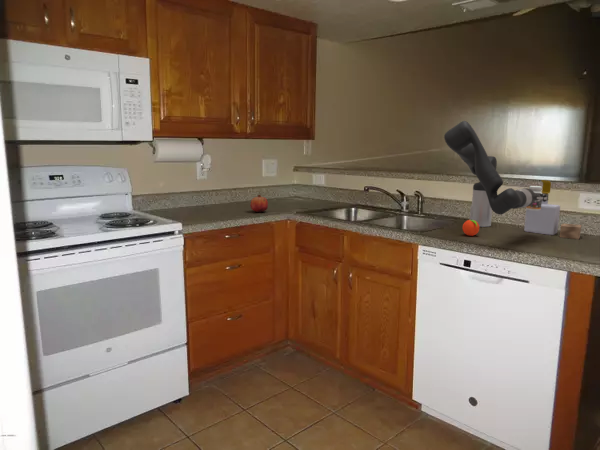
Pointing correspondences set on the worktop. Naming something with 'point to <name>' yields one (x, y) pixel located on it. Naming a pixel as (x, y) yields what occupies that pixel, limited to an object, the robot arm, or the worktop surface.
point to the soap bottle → (543, 216)
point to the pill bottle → (536, 204)
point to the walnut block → (570, 231)
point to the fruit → (259, 204)
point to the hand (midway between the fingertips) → (536, 195)
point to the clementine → (470, 227)
